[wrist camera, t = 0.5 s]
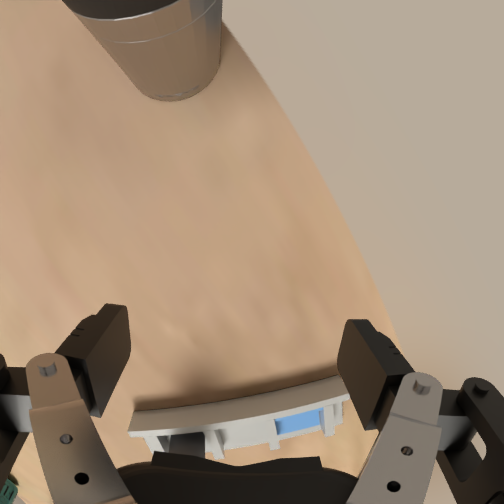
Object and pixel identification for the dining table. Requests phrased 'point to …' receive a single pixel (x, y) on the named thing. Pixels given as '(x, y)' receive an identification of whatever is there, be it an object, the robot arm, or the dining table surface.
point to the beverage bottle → (8, 492)
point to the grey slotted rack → (247, 418)
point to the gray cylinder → (188, 444)
